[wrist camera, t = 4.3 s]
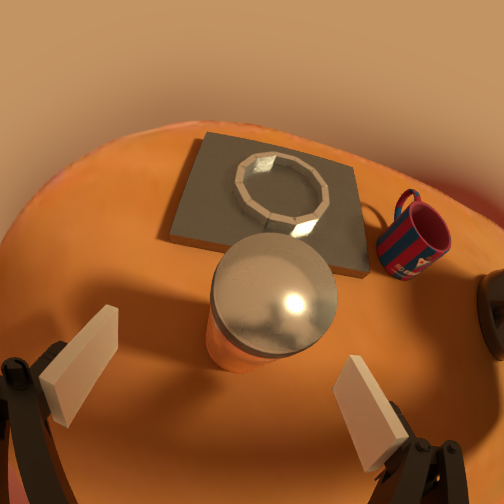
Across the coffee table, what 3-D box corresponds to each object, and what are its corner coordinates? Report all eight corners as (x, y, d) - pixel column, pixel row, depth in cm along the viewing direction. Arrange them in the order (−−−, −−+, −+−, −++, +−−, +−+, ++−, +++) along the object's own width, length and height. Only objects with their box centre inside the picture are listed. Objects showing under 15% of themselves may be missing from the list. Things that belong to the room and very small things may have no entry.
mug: (377, 273, 28) (413, 241, 22) (372, 207, 33) (399, 173, 28) (418, 286, 29) (456, 260, 23) (410, 223, 34) (438, 193, 28)
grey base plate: (348, 174, 35) (356, 161, 33) (362, 278, 27) (376, 267, 25) (205, 140, 33) (207, 124, 31) (170, 242, 25) (168, 226, 23)
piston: (286, 341, 23) (360, 290, 12) (239, 388, 20) (284, 383, 10) (239, 295, 24) (274, 211, 14) (189, 337, 21) (183, 281, 11)
